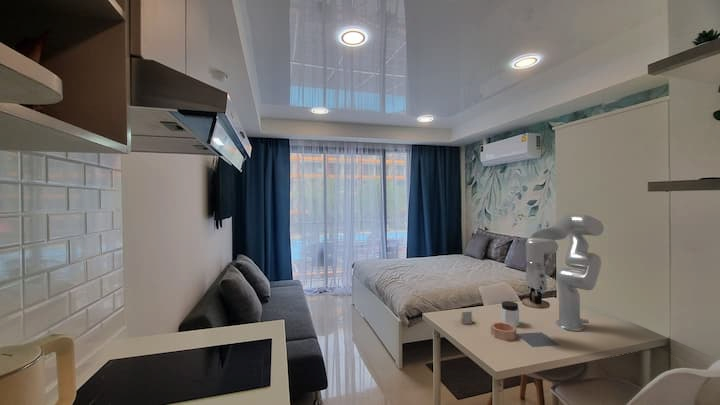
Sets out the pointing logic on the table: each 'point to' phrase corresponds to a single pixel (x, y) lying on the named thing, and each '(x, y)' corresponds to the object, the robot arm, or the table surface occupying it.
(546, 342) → the mat
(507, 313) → the jar
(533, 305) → the lid
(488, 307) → the table surface
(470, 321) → the architectural model
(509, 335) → the bowl
